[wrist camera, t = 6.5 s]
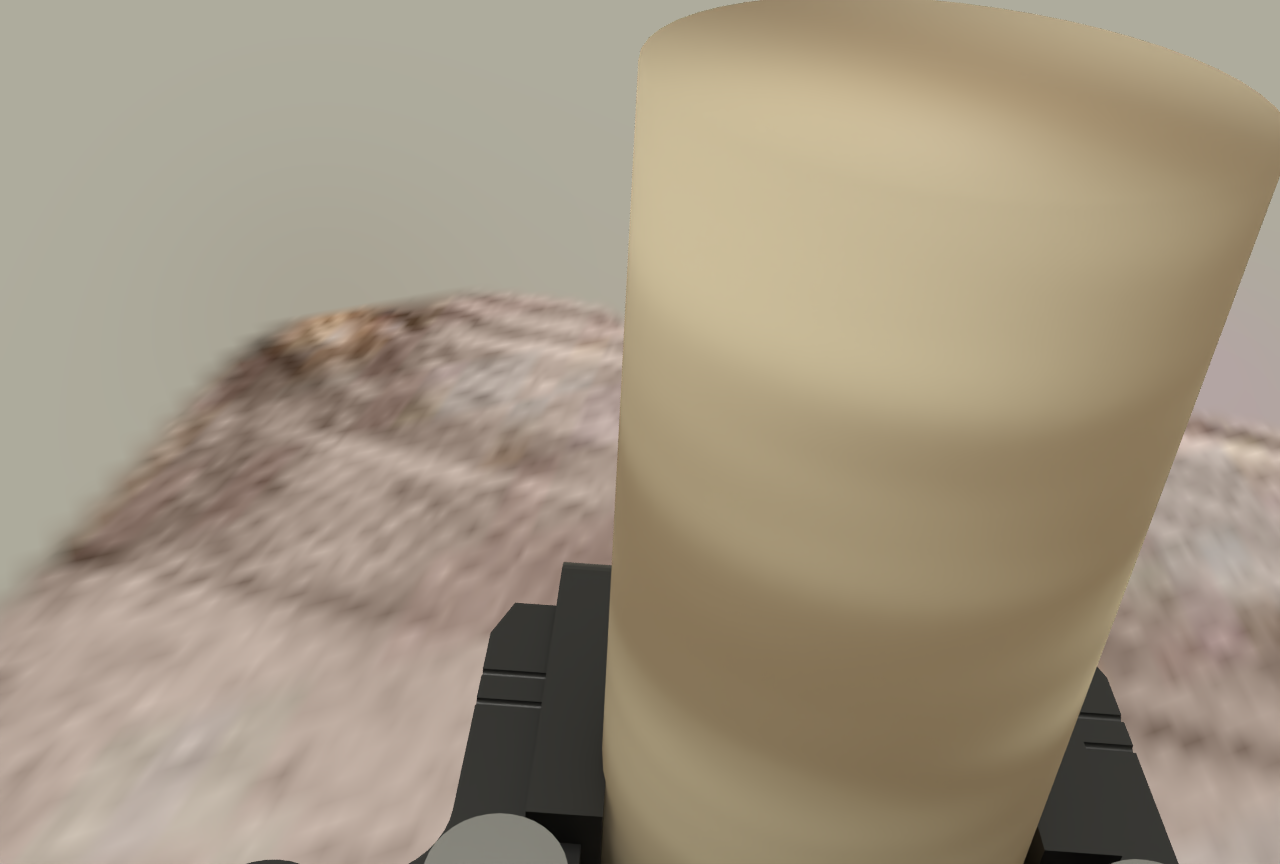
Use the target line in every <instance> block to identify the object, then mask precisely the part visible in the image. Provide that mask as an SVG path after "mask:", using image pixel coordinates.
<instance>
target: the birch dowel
mask: <svg viewBox="0 0 1280 864" xmlns="http://www.w3.org/2000/svg"><path fill="white" fill-rule="evenodd" d="M632 173H633V174H632V191H631V210H630V211H631V212H630V229H629V248H628V267H627V286H626V287H627V288H626V305H625V324H624V343H623V362H622V381H621V400H620V419H619V438H618V457H617V476H616V495H615V514H614V533H613V552H612V571H611V590H610V609H609V628H608V647H607V666H606V685H605V704H604V723H603V742H602V755H603V772H604V776H605V781H606V783H605V801H604V819H603V836H602V854H601V864H1023V863H1024V860H1025V858H1026V855H1027V852H1028V850H1029V847H1030V844H1031V842H1032V839H1033V836H1034V834H1035V831H1036V828H1037V826H1038V823H1039V820H1040V818H1041V815H1042V812H1043V809H1044V807H1045V804H1046V801H1047V799H1048V796H1049V793H1050V791H1051V788H1052V785H1053V783H1054V780H1055V777H1056V775H1057V772H1058V769H1059V767H1060V764H1061V761H1062V759H1063V756H1064V753H1065V751H1066V748H1067V745H1068V742H1069V740H1070V737H1071V734H1072V732H1073V729H1074V726H1075V724H1076V721H1077V718H1078V716H1079V713H1080V710H1081V708H1082V705H1083V702H1084V700H1085V697H1086V694H1087V692H1088V689H1089V686H1090V684H1091V681H1092V678H1093V676H1094V673H1095V670H1096V667H1097V665H1098V662H1099V659H1100V657H1101V654H1102V651H1103V649H1104V646H1105V643H1106V641H1107V638H1108V635H1109V633H1110V630H1111V627H1112V625H1113V622H1114V619H1115V617H1116V614H1117V611H1118V609H1119V606H1120V603H1121V600H1122V598H1123V595H1124V592H1125V590H1126V587H1127V584H1128V582H1129V579H1130V576H1131V574H1132V571H1133V568H1134V566H1135V563H1136V560H1137V558H1138V555H1139V552H1140V550H1141V547H1142V544H1143V542H1144V539H1145V536H1146V534H1147V531H1148V528H1149V525H1150V523H1151V520H1152V517H1153V515H1154V512H1155V509H1156V507H1157V504H1158V501H1159V499H1160V496H1161V493H1162V491H1163V488H1164V485H1165V483H1166V480H1167V477H1168V475H1169V472H1170V469H1171V467H1172V464H1173V461H1174V458H1175V456H1176V453H1177V450H1178V448H1179V445H1180V442H1181V440H1182V437H1183V434H1184V432H1185V429H1186V426H1187V424H1188V421H1189V418H1190V416H1191V413H1192V410H1193V408H1194V405H1195V402H1196V400H1197V397H1198V394H1199V392H1200V389H1201V386H1202V383H1203V381H1204V378H1205V375H1206V373H1207V370H1208V367H1209V365H1210V362H1211V359H1212V356H1213V354H1214V351H1215V348H1216V346H1217V343H1218V341H1219V337H1220V335H1221V333H1222V330H1223V327H1224V325H1225V322H1226V319H1227V316H1228V314H1229V311H1230V308H1231V306H1232V303H1233V300H1234V298H1235V295H1236V292H1237V290H1238V287H1239V284H1240V281H1241V279H1242V276H1243V274H1244V271H1245V268H1246V266H1247V263H1248V260H1249V258H1250V255H1251V252H1252V249H1253V247H1254V244H1255V241H1256V239H1257V236H1258V233H1259V231H1260V228H1261V225H1262V223H1263V220H1264V217H1265V215H1266V212H1267V209H1268V206H1269V204H1270V201H1271V199H1272V196H1273V193H1274V190H1275V188H1276V185H1277V183H1278V180H1279V177H1280V112H1279V111H1278V109H1277V108H1276V107H1275V106H1274V105H1273V104H1271V103H1270V102H1269V101H1268V100H1267V99H1265V98H1264V97H1263V96H1262V95H1261V94H1259V93H1258V92H1256V91H1255V90H1253V89H1252V88H1250V87H1249V86H1247V85H1246V84H1244V83H1243V82H1241V81H1239V80H1237V79H1236V78H1234V77H1231V76H1230V75H1228V74H1226V73H1224V72H1222V71H1220V70H1219V69H1216V68H1214V67H1212V66H1210V65H1207V64H1205V63H1203V62H1200V61H1198V60H1196V59H1194V58H1191V57H1189V56H1186V55H1183V54H1180V53H1178V52H1175V51H1172V50H1170V49H1167V48H1164V47H1161V46H1158V45H1155V44H1152V43H1149V42H1146V41H1143V40H1140V39H1136V38H1133V37H1130V36H1126V35H1122V34H1119V33H1115V32H1112V31H1107V30H1104V29H1101V28H1096V27H1092V26H1087V25H1084V24H1079V23H1075V22H1071V21H1067V20H1061V19H1057V18H1051V17H1046V16H1041V15H1036V14H1031V13H1025V12H1019V11H1013V10H1007V9H1001V8H994V7H987V6H979V5H972V4H964V3H955V2H945V1H935V0H760V1H752V2H744V3H739V4H733V5H728V6H722V7H717V8H713V9H710V10H706V11H702V12H698V13H695V14H692V15H689V16H687V17H684V18H681V19H678V20H676V21H674V22H672V23H670V24H668V25H666V26H664V27H663V28H661V29H659V30H658V31H657V32H656V33H654V34H653V35H652V36H651V37H649V38H648V40H647V41H646V43H645V44H644V45H643V47H642V48H641V51H640V56H639V60H638V78H637V97H636V115H635V135H634V153H633V172H632Z"/></svg>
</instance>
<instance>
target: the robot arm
mask: <svg viewBox="0 0 1280 864" xmlns="http://www.w3.org/2000/svg"><path fill="white" fill-rule="evenodd" d="M611 571H612V565H599V564H585V563H571V562H564V563H563V567H562V573H561V579H560V586H559V593H558V599H557V606H553V605H539V604H524V603H515V604H514V605H513V606H512V607H511V609H510V610H509V611H508V612H507V614H506V615H505V616H504V617H503V618H502V620H501V621H500V622H499V623H498V625H497V626H496V627H495V628H494V629H493V631H492V632H491V634H490V639H489V643H488V648H487V653H486V657H485V662H484V667H483V675H482V676H481V681H480V685H479V690H478V695H477V703H476V705H475V709H474V714H473V718H472V723H471V728H470V732H469V737H468V742H467V746H466V751H465V756H464V760H463V765H462V770H461V774H460V779H459V784H458V789H457V793H456V798H455V803H454V807H453V811H452V814H451V818H450V821H449V823H448V824H447V826H446V828H445V830H444V832H443V833H442V835H441V836H440V837H439V839H438V840H437V841H436V842H435V844H434V845H433V846H432V847H431V848H430V849H429V850H428V851H426V852H425V853H424V854H423V855H421V856H420V857H419V858H417V859H416V860H414V861H413V862H411V863H409V864H601V854H602V836H603V819H604V801H605V783H606V781H605V776H604V772H603V755H602V742H603V723H604V704H605V685H606V666H607V647H608V628H609V609H610V590H611ZM1132 747H1133V744H1132V742H1131V739H1130V737H1129V734H1128V731H1127V729H1126V726H1125V724H1124V722H1121V713H1120V711H1119V708H1118V705H1117V703H1116V700H1115V698H1114V695H1113V692H1112V690H1111V687H1110V685H1109V682H1108V679H1107V677H1106V676H1105V675H1104V674H1103V673H1102V672H1101V671H1100V670H1099V668H1098V667H1096V670H1095V673H1094V676H1093V678H1092V681H1091V684H1090V686H1089V689H1088V692H1087V694H1086V697H1085V700H1084V702H1083V705H1082V708H1081V710H1080V713H1079V716H1078V718H1077V721H1076V724H1075V726H1074V729H1073V732H1072V734H1071V737H1070V740H1069V742H1068V745H1067V748H1066V751H1065V753H1064V756H1063V759H1062V761H1061V764H1060V767H1059V769H1058V772H1057V775H1056V777H1055V780H1054V783H1053V785H1052V788H1051V791H1050V793H1049V796H1048V799H1047V801H1046V804H1045V807H1044V809H1043V812H1042V815H1041V818H1040V820H1039V823H1038V826H1037V828H1036V831H1035V834H1034V836H1033V839H1032V842H1031V844H1030V847H1029V850H1028V852H1027V855H1026V858H1025V860H1024V863H1023V864H1178V861H1177V859H1176V856H1175V853H1174V851H1173V848H1172V846H1171V843H1170V840H1169V838H1168V835H1167V833H1166V830H1165V827H1164V825H1163V822H1162V820H1161V817H1160V814H1159V812H1158V809H1157V807H1156V804H1155V801H1154V799H1153V796H1152V794H1151V791H1150V788H1149V786H1148V783H1147V781H1146V778H1145V775H1144V773H1143V770H1142V768H1141V765H1140V763H1139V760H1138V757H1137V755H1136V753H1133V751H1132ZM248 864H298V863H295V862H291V861H284V860H263V861H256V862H251V863H248Z"/></svg>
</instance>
